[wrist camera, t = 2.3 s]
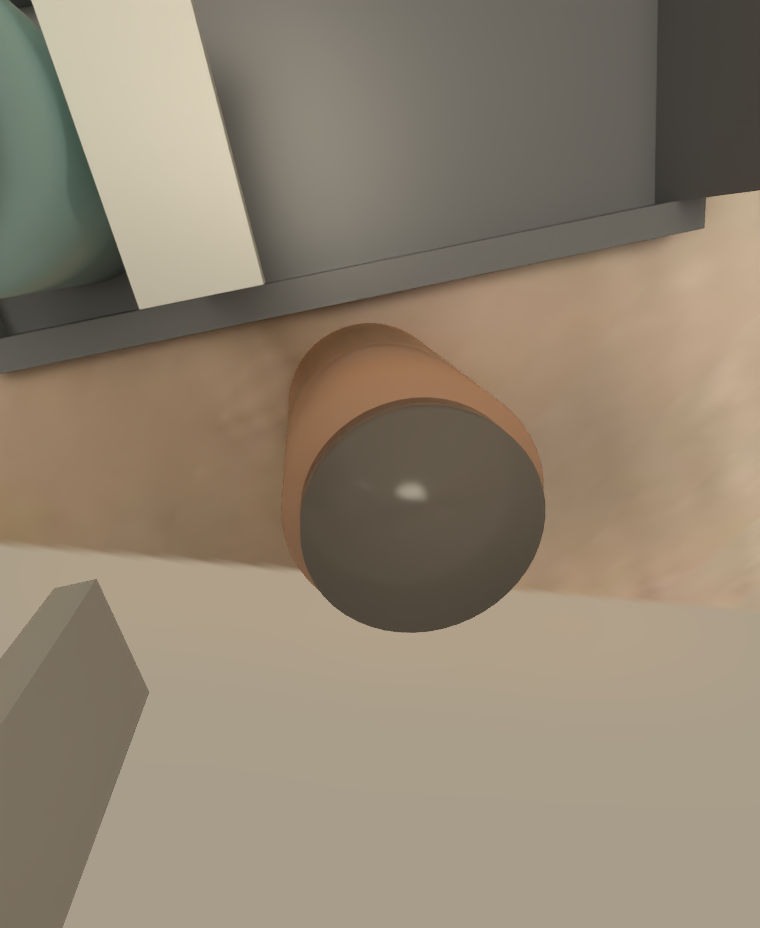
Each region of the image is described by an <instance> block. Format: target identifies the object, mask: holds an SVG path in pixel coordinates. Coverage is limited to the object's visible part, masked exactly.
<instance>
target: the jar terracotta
mask: <svg viewBox="0 0 760 928" xmlns="http://www.w3.org/2000/svg"><path fill="white" fill-rule="evenodd" d="M544 521H545V499H544V492H543V474H542V467H541V462H540V459H539V456H538V452H537V449H536V447H535V445H534V443H533V441H532V439H531V436H530V435H529V433H528V432H527V430H526V429H525V427H524V426H523V424H522V423H521V422H520V421H519V419H518V418H517V417H516V416H515V415H514V414H513V413H512V412H511V411H510V410H509V409H508V408H507V407H505V406H504V405H503V404H502V403H500V402H499V401H498V400H497V399H495V398H494V397H493V396H491V395H490V394H489V393H487V392H486V391H485V390H483V389H482V388H481V387H480V386H478V385H477V384H476V383H474V382H473V381H472V380H470V379H469V378H468V377H466V376H465V375H464V374H462V373H461V372H460V371H458V370H457V369H456V368H454V367H453V366H452V365H450V364H449V363H448V362H447V361H445V360H444V359H443V358H441V357H440V356H439V355H437V354H436V353H435V352H433V351H432V350H431V349H429V348H428V347H427V346H425V345H424V344H423V343H421V342H420V341H419V340H417V339H416V338H415V337H413V336H412V335H410V334H408V333H407V332H405V331H402V330H400V329H398V328H395V327H391V326H388V325H383V324H375V323H373V324H357V325H352V326H348V327H345V328H342V329H339V330H337V331H335V332H333V333H331V334H329V335H328V336H326V337H324V338H323V339H322V340H320V341H319V342H318V343H317V344H315V345H314V346H313V347H312V348H311V349H310V350H309V352H308V353H307V354H306V355H305V357H304V358H303V359H302V361H301V362H300V364H299V366H298V368H297V370H296V372H295V375H294V378H293V380H292V385H291V389H290V398H289V411H288V425H287V439H286V453H285V467H284V481H283V494H282V524H283V529H284V534H285V538H286V542H287V544H288V547H289V550H290V552H291V555H292V557H293V558H294V560H295V562H296V564H297V566H298V567H299V569H300V570H301V571H302V573H303V574H304V575H305V577H306V578H307V579H308V580H309V581H310V582H311V583H312V584H313V585H314V586H315V587H316V588H317V589H318V590H319V591H320V592H321V593H322V595H323V596H324V597H325V598H326V599H327V600H328V601H329V602H330V603H331V604H332V605H333V606H334V607H336V608H337V609H338V610H340V611H341V612H342V613H344V614H345V615H347V616H349V617H351V618H353V619H355V620H356V621H358V622H361V623H363V624H366V625H368V626H371V627H374V628H378V629H382V630H387V631H394V632H411V633H412V632H413V633H415V632H427V631H433V630H438V629H443V628H447V627H450V626H453V625H456V624H459V623H461V622H464V621H466V620H469V619H471V618H473V617H475V616H476V615H478V614H480V613H482V612H484V611H485V610H487V609H488V608H490V607H491V606H492V605H494V604H495V603H497V602H498V601H499V600H500V599H501V598H503V597H504V596H505V595H506V594H507V593H508V592H509V591H510V590H511V589H512V588H513V587H514V586H515V585H516V584H517V583H518V581H519V580H520V579H521V577H522V576H523V575H524V573H525V572H526V571H527V569H528V567H529V565H530V564H531V562H532V560H533V558H534V556H535V554H536V551H537V549H538V547H539V544H540V540H541V537H542V533H543V528H544Z"/></svg>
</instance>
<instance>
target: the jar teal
mask: <svg viewBox="0 0 760 928" xmlns="http://www.w3.org/2000/svg"><path fill="white" fill-rule="evenodd" d="M125 271H126V270H125V267H124V264H123V261H122V258H121V255H120V253H119V250H118V247H117V244H116V241H115V238H114V235H113V233H112V230H111V227H110V224H109V221H108V218H107V215H106V213H105V210H104V207H103V204H102V201H101V198H100V195H99V193H98V190H97V187H96V184H95V181H94V178H93V175H92V173H91V170H90V167H89V164H88V161H87V158H86V155H85V153H84V150H83V147H82V144H81V141H80V138H79V135H78V133H77V130H76V127H75V124H74V121H73V118H72V115H71V113H70V110H69V107H68V104H67V101H66V98H65V95H64V93H63V90H62V87H61V84H60V81H59V78H58V75H57V73H56V70H55V67H54V64H53V61H52V58H51V55H50V53H49V50H48V47H47V44H46V41H45V38H44V35H43V33H42V30H41V27H39V26H38V25H37V24H36V23H35V22H34V21H32V20H31V19H30V18H29V17H28V16H27V15H25V14H24V13H23V12H22V11H21V10H20V9H18V8H17V7H16V6H15V5H14V4H13V3H11V2H10V1H9V0H0V298H7V297H13V296H19V295H25V294H32V293H38V292H44V291H50V290H57V289H63V288H69V287H75V286H82V285H88V284H94V283H99V282H102V281H106V280H109V279H112V278H114V277H116V276H118V275H120V274H122V273H124V272H125Z"/></svg>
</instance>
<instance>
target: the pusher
mask: <svg viewBox="0 0 760 928" xmlns="http://www.w3.org/2000/svg"><path fill="white" fill-rule="evenodd" d="M31 1H32V4H33V7H34V10H35V13H36V15H37V18H38V21H39V24H40V27H41V30H42V33H43V35H44V38H45V41H46V44H47V47H48V50H49V53H50V55H51V58H52V61H53V64H54V67H55V70H56V73H57V75H58V78H59V81H60V84H61V87H62V90H63V93H64V95H65V98H66V101H67V104H68V107H69V110H70V113H71V115H72V118H73V121H74V124H75V127H76V130H77V133H78V135H79V138H80V141H81V144H82V147H83V150H84V153H85V155H86V158H87V161H88V164H89V167H90V170H91V173H92V175H93V178H94V181H95V184H96V187H97V190H98V193H99V195H100V198H101V201H102V204H103V207H104V210H105V213H106V215H107V218H108V221H109V224H110V227H111V230H112V233H113V235H114V238H115V241H116V244H117V247H118V250H119V253H120V255H121V258H122V261H123V264H124V267H125V270H126V273H127V275H128V278H129V281H130V284H131V287H132V290H133V293H134V295H135V298H136V301H137V304H138V307H139V310H141V309H145V308H150V307H155V306H160V305H165V304H170V303H175V302H180V301H185V300H190V299H195V298H200V297H204V296H209V295H214V294H219V293H224V292H229V291H234V290H239V289H244V288H249V287H254V286H259V285H263V284H265V279H264V275H263V271H262V267H261V263H260V259H259V255H258V251H257V247H256V243H255V240H254V236H253V232H252V228H251V224H250V220H249V216H248V212H247V208H246V204H245V200H244V196H243V193H242V189H241V185H240V181H239V177H238V173H237V169H236V165H235V161H234V157H233V153H232V149H231V146H230V142H229V138H228V134H227V130H226V126H225V122H224V118H223V114H222V110H221V106H220V102H219V98H218V95H217V91H216V87H215V83H214V79H213V75H212V71H211V67H210V63H209V59H208V55H207V51H206V48H205V44H204V40H203V36H202V32H201V28H200V24H199V20H198V16H197V12H196V8H195V4H194V1H193V0H31Z"/></svg>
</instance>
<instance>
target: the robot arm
mask: <svg viewBox="0 0 760 928" xmlns="http://www.w3.org/2000/svg"><path fill="white" fill-rule="evenodd" d="M148 694H149V691H148V689H147V687H146V685H145V683H144V680H143V678H142V676H141V674H140V672H139V669H138V667H137V666H136V663H135V661H134V659H133V657H132V654H131V652H130V650H129V648H128V646H127V644H126V641H125V639H124V637H123V635H122V633H121V631H120V629H119V626H118V624H117V622H116V620H115V618H114V616H113V613H112V611H111V609H110V607H109V605H108V603H107V601H106V598H105V597H104V594H103V592H102V590H101V588H100V585H99V583H98V581H97V579H95V580H91V581H86V582H82V583H77V584H73V585H69V586H64V587H59V588H55V589H54V590H53V591H52V592H51V594H50V595H49V596H48V598H47V599H46V600H45V601H44V603H43V604H42V606H41V607H40V608H39V609H38V611H37V612H36V613H35V615H34V616H33V617H32V619H31V620H30V621H29V622H28V624H27V625H26V626H25V628H24V629H23V630H22V632H21V633H20V634H19V635H18V637H17V638H16V640H15V641H14V642H13V643H12V645H11V646H10V647H9V649H8V650H7V651H6V652H5V654H4V655H3V657H2V658H1V659H0V928H62V927H63V925H64V922H65V919H66V917H67V914H68V911H69V909H70V906H71V903H72V900H73V897H74V895H75V892H76V889H77V887H78V884H79V881H80V879H81V876H82V873H83V870H84V868H85V865H86V862H87V860H88V857H89V854H90V851H91V849H92V846H93V843H94V841H95V838H96V835H97V832H98V830H99V827H100V824H101V821H102V818H103V816H104V813H105V810H106V808H107V805H108V802H109V800H110V797H111V794H112V792H113V789H114V786H115V783H116V781H117V778H118V775H119V773H120V770H121V767H122V764H123V762H124V759H125V756H126V754H127V751H128V748H129V745H130V742H131V740H132V737H133V734H134V732H135V729H136V726H137V723H138V721H139V718H140V715H141V712H142V710H143V707H144V705H145V702H146V699H147V696H148Z"/></svg>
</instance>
